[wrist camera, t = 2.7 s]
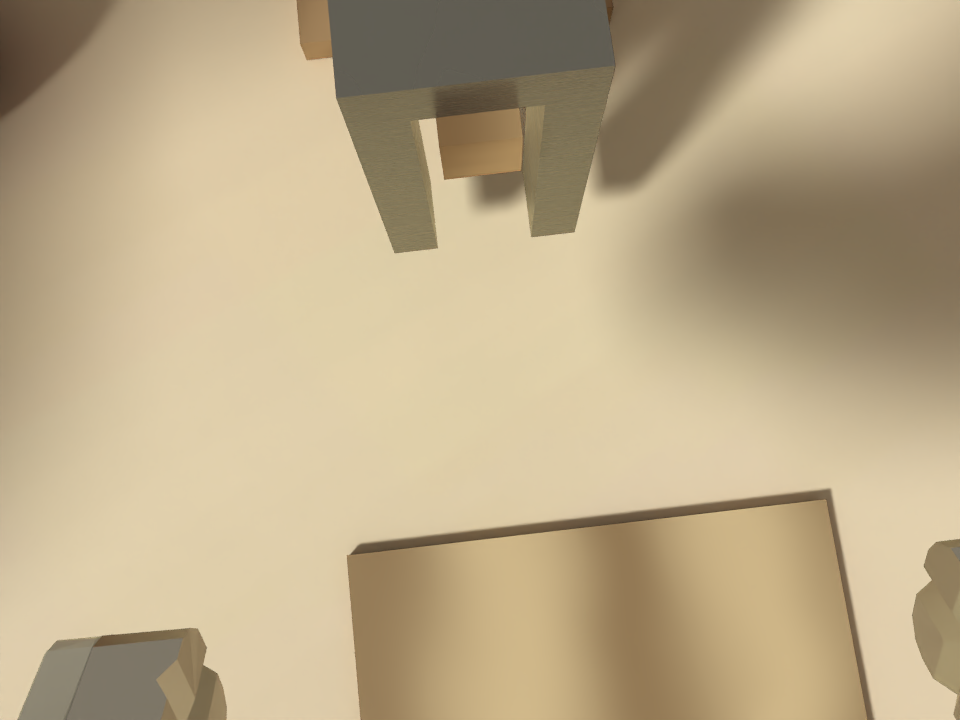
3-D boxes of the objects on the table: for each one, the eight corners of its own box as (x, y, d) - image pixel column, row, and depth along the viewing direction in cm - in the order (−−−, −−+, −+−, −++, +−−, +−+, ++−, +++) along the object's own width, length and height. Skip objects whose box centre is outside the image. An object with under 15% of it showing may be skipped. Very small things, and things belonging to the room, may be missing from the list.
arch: (394, 253, 25) (336, 98, 16) (388, 185, 25) (327, -3, 16) (574, 232, 25) (615, 65, 16) (564, 164, 25) (599, -35, 16)
